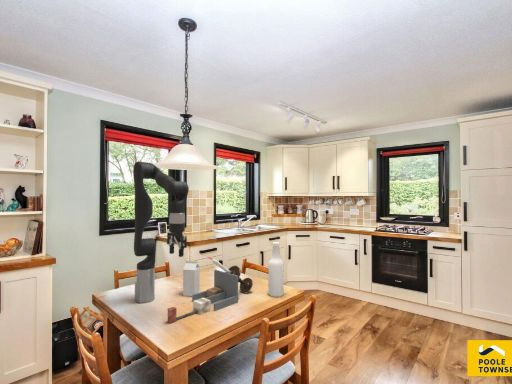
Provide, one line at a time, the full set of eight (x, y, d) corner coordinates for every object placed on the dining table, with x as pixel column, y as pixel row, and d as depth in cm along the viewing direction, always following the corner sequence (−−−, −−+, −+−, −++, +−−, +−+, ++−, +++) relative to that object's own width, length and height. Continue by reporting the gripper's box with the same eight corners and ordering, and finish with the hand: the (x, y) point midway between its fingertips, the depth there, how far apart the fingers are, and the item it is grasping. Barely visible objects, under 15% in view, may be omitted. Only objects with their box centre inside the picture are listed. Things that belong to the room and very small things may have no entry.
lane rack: (214, 311, 137) (215, 282, 137) (192, 301, 150) (192, 275, 150) (238, 302, 149) (238, 275, 149) (215, 293, 162) (215, 269, 162)
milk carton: (194, 296, 156) (194, 262, 157) (182, 296, 158) (183, 262, 158) (199, 292, 163) (199, 260, 164) (188, 291, 165) (188, 259, 165)
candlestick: (238, 296, 164) (198, 268, 144) (239, 279, 172) (202, 251, 153) (253, 291, 160) (215, 262, 140) (254, 274, 168) (217, 244, 148)
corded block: (172, 324, 122) (172, 311, 122) (165, 320, 126) (165, 307, 126) (210, 310, 138) (210, 298, 138) (203, 307, 142) (203, 295, 142)
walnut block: (213, 301, 150) (213, 292, 150) (206, 298, 154) (206, 289, 154) (221, 298, 155) (221, 289, 155) (214, 295, 159) (214, 286, 159)
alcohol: (275, 298, 155) (275, 244, 155) (265, 293, 162) (265, 242, 162) (286, 295, 160) (286, 242, 160) (276, 290, 167) (276, 240, 168)
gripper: (162, 221, 138) (161, 253, 138) (178, 223, 129) (177, 259, 129) (176, 220, 144) (175, 251, 144) (191, 222, 134) (191, 256, 134)
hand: (176, 255), depth 136 cm, fingers open, 8 cm apart
